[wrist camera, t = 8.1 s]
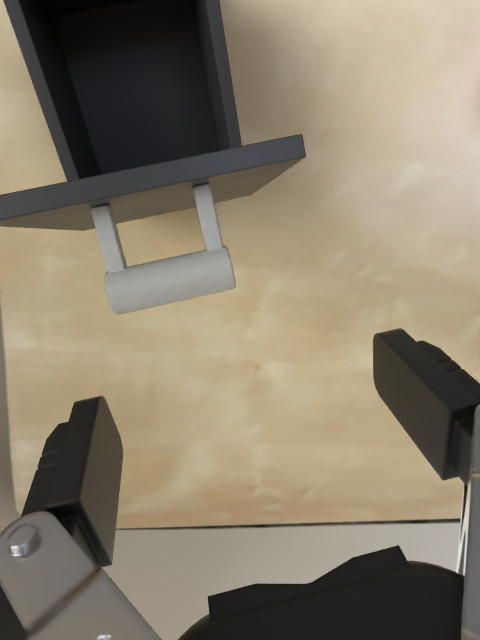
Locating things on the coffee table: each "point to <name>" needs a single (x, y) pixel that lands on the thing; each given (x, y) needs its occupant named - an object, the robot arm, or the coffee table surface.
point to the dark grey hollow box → (128, 80)
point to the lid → (153, 199)
